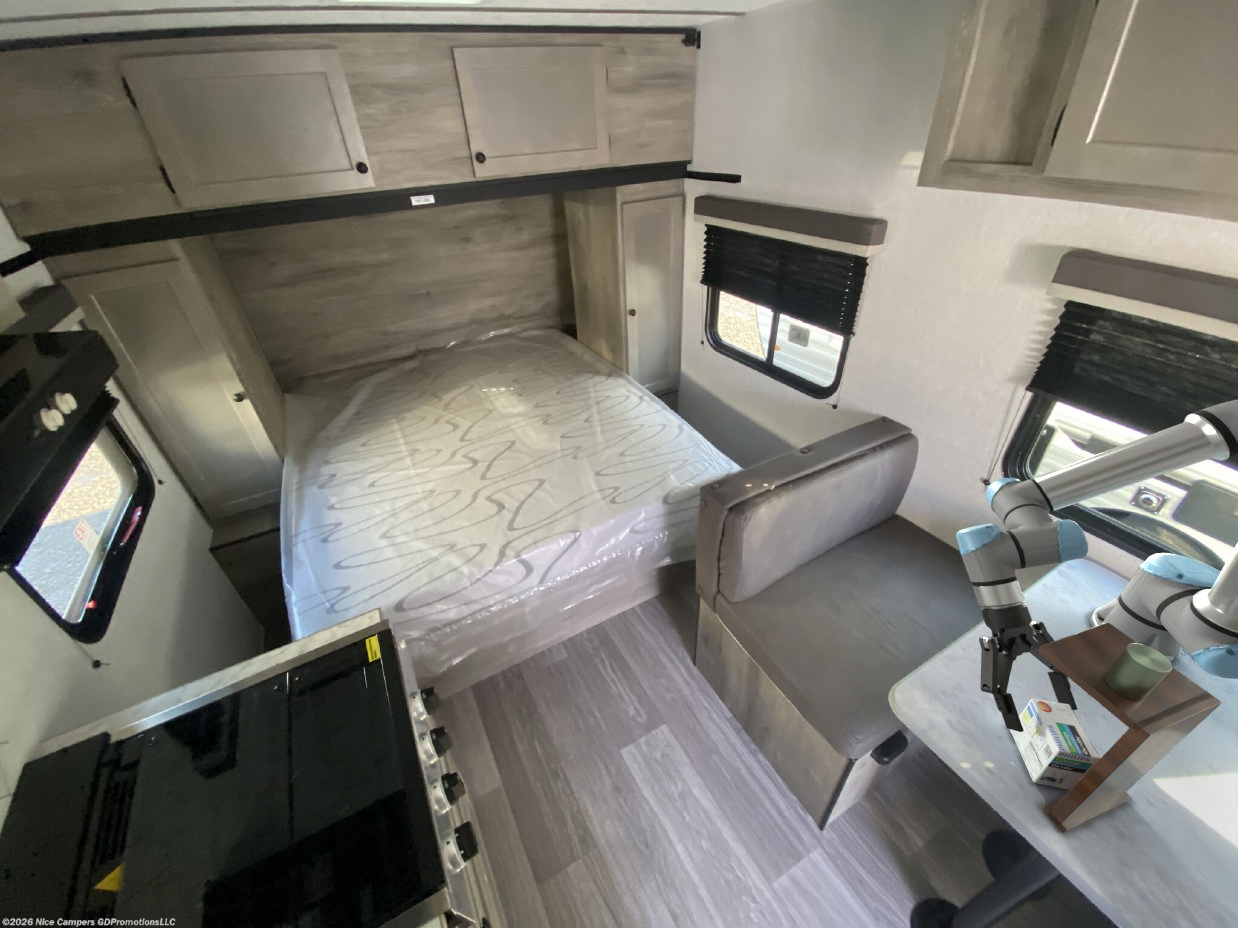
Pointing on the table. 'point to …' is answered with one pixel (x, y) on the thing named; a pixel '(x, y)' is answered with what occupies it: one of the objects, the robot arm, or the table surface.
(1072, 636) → the shelf stand
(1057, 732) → the light bulb box
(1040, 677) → the table surface
